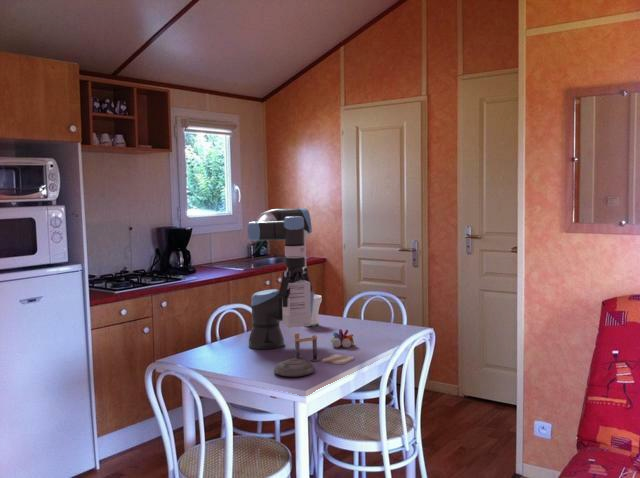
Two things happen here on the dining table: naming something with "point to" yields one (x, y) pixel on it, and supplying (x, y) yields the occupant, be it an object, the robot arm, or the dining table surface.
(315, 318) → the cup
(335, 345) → the rainbow disc toy
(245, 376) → the dining table surface
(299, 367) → the flying saucer
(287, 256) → the robot arm
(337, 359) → the coaster
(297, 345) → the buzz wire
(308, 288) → the supplement box
